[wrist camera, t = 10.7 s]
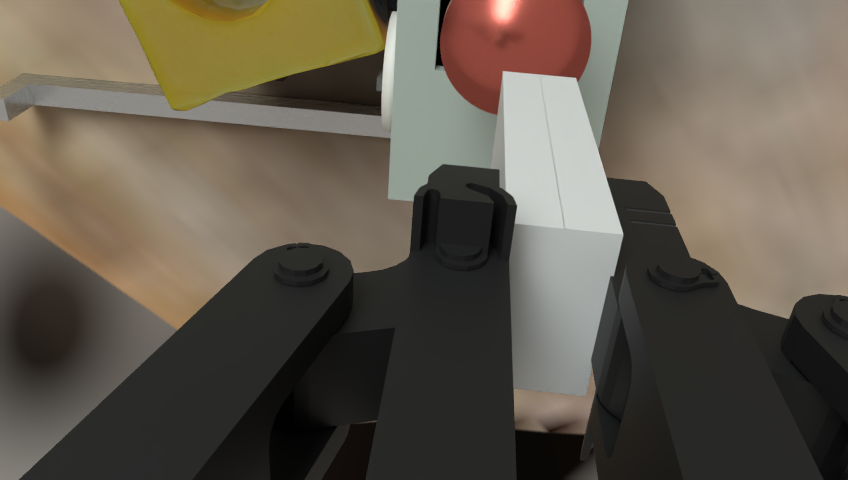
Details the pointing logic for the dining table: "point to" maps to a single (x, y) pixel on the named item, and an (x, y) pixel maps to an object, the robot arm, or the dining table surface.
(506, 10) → the plunger
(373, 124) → the rail track
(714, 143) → the dining table surface
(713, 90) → the dining table surface
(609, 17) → the gauge cabinet
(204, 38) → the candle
